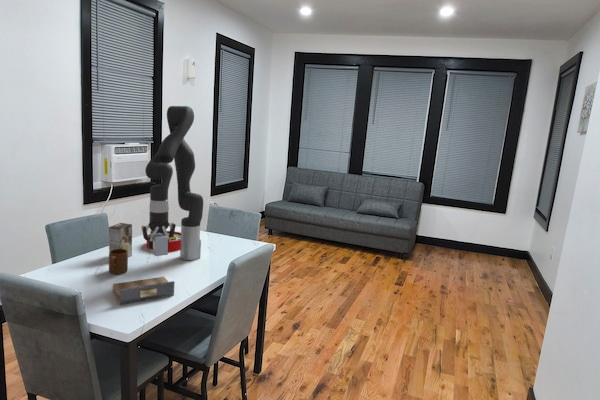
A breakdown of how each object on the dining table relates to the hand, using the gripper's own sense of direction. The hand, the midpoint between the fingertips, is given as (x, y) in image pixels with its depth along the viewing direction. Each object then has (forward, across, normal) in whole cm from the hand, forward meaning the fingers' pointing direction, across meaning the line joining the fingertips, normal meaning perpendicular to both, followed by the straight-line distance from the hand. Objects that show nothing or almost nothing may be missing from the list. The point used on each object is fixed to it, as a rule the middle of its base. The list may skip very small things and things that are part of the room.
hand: (158, 247), depth 172 cm
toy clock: (+15, -17, -41) cm, 47 cm away
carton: (+2, 0, 0) cm, 2 cm away
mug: (+14, +14, -12) cm, 24 cm away
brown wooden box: (+14, +10, +12) cm, 21 cm away
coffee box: (+14, +8, -32) cm, 36 cm away
